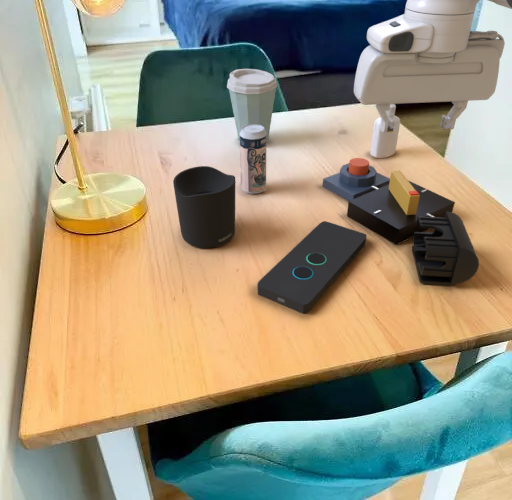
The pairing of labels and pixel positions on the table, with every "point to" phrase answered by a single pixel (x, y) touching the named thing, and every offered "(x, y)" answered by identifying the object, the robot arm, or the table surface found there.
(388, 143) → the eye dropper bottle
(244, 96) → the disposable coffee cup
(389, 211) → the rotary switch
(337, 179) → the button box
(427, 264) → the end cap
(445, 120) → the robot arm
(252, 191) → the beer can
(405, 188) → the rotary switch knob
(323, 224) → the smart home device
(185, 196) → the pen holder
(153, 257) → the table surface
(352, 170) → the button
